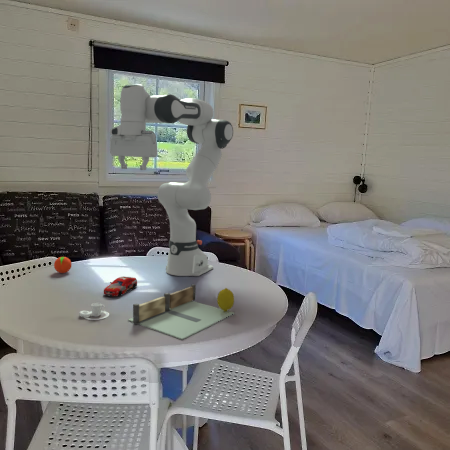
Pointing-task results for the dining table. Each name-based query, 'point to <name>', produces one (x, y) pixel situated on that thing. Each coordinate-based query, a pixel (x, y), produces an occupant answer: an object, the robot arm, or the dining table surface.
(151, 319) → the mat
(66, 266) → the clementine
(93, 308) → the teacup and saucer
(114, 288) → the race car
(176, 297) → the fence panel
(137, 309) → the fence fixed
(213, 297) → the dining table surface
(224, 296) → the lemon
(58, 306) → the dining table surface
